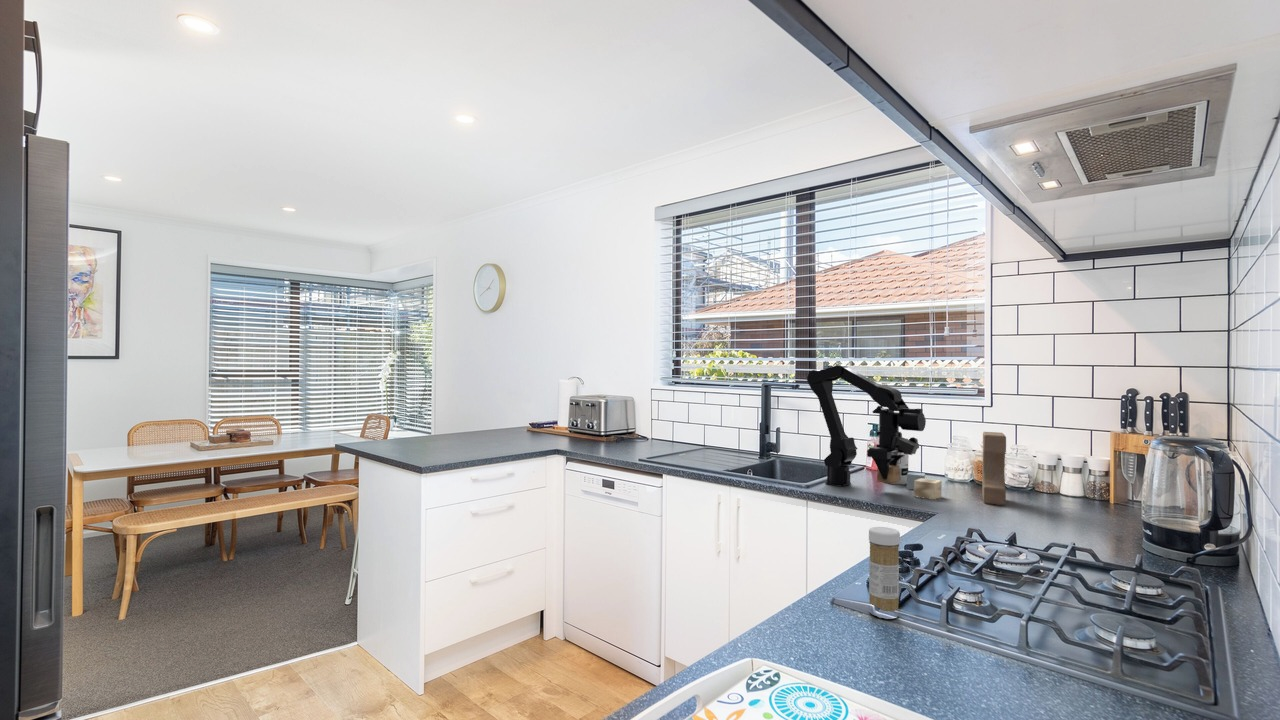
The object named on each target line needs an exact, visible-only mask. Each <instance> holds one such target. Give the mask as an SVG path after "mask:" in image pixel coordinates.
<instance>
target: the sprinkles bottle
mask: <svg viewBox="0 0 1280 720" xmlns="http://www.w3.org/2000/svg"><path fill="white" fill-rule="evenodd" d="M900 540H901V533H900V530H897V529H895V528H892V527H888V526H887V527H886V526H873V527H870V528H869V529H868V541H869V559H868V560H869V564H868V565H869V567H868V569H869V571H868V572H869V573H868V577H869V579H868V581H869V582H868V583H869V584H868V592H869V599H868V600H869V603H870V604H872V605H874V606H876V607H878V608H880V609H881V610H883V611H895V610H898V611H899V593H900V591H899V589H900V586H899V585H900V584H899V583H900V581H899V580H900V576H899V575H900V574H899V572H900V569H899V568H900V567H899V566H900V565H899V564H900V563H899V561H900V560H899V557H900V556H899V549H900V548H899V547H900V543H901V541H900Z"/></svg>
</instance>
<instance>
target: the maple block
mask: <svg viewBox="0 0 1280 720" xmlns="http://www.w3.org/2000/svg"><path fill="white" fill-rule="evenodd" d="M942 482H943V481H942V480H937V479H929V478H925V479H923V478H920V479H917V480H915V481H914V490H913V497H914V496H918V497H917V498H920V497H924V498H923V499H926V498H931V499H930V500H933V499H935V500H937V499H936V498H938V499H940V498H942V488H943V487H942V484H943V483H942ZM939 497H940V498H939Z"/></svg>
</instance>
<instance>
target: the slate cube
mask: <svg viewBox="0 0 1280 720" xmlns="http://www.w3.org/2000/svg"><path fill="white" fill-rule="evenodd" d="M920 478H923V479H926V473H925V472H924V473H923V472H914V471H908V473H907V483H906V490H908V489H914V481H915V480H917V479H920Z"/></svg>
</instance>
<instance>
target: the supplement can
mask: <svg viewBox="0 0 1280 720" xmlns="http://www.w3.org/2000/svg"><path fill="white" fill-rule="evenodd" d="M899 453H900V452H899ZM901 455H905V456H904V457H903V458H902V459H900V460H899V462H898V465H897V466H900V479H899V482H898V483H895V484H894V485H907V473H908V472H909V454H904V453H901Z"/></svg>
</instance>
